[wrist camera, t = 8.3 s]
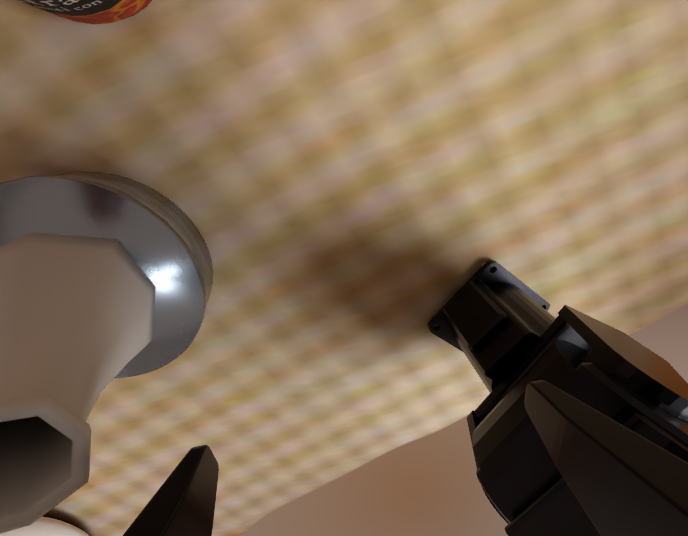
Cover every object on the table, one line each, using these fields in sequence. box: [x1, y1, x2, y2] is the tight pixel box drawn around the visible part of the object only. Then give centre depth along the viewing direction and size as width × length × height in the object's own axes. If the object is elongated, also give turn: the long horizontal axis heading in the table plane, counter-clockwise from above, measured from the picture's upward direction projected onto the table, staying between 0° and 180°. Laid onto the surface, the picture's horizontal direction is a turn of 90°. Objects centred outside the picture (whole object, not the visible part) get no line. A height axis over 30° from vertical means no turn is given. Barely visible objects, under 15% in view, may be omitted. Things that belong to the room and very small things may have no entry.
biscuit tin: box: [0, 172, 213, 378], centre depth 18 cm, size 11×11×4 cm
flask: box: [0, 232, 156, 534], centre depth 11 cm, size 7×7×10 cm
